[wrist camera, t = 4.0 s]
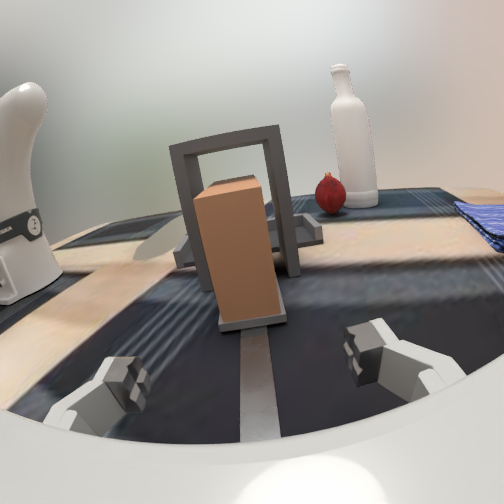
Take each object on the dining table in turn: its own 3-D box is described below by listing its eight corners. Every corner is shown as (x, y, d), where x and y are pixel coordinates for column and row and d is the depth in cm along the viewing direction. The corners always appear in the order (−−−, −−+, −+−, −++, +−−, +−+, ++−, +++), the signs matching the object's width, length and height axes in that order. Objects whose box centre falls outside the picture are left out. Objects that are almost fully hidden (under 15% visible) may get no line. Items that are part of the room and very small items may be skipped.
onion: (351, 216, 47) (347, 171, 44) (320, 220, 47) (315, 175, 45) (343, 209, 52) (339, 169, 50) (315, 213, 53) (310, 173, 50)
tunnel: (202, 292, 29) (168, 146, 24) (210, 264, 36) (186, 148, 31) (300, 275, 28) (278, 124, 23) (289, 250, 36) (270, 132, 31)
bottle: (370, 209, 49) (346, 58, 39) (336, 207, 55) (312, 67, 45) (383, 201, 54) (363, 66, 44) (352, 200, 59) (332, 73, 50)
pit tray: (177, 268, 37) (172, 252, 36) (189, 247, 45) (186, 233, 45) (323, 243, 36) (321, 225, 35) (308, 226, 45) (306, 212, 44)
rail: (241, 505, 8) (240, 503, 8) (242, 258, 36) (241, 257, 36) (288, 500, 8) (288, 499, 8) (257, 256, 36) (257, 254, 36)
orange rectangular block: (220, 332, 21) (187, 201, 17) (228, 263, 34) (212, 182, 31) (287, 321, 21) (266, 185, 17) (270, 256, 34) (256, 173, 31)
